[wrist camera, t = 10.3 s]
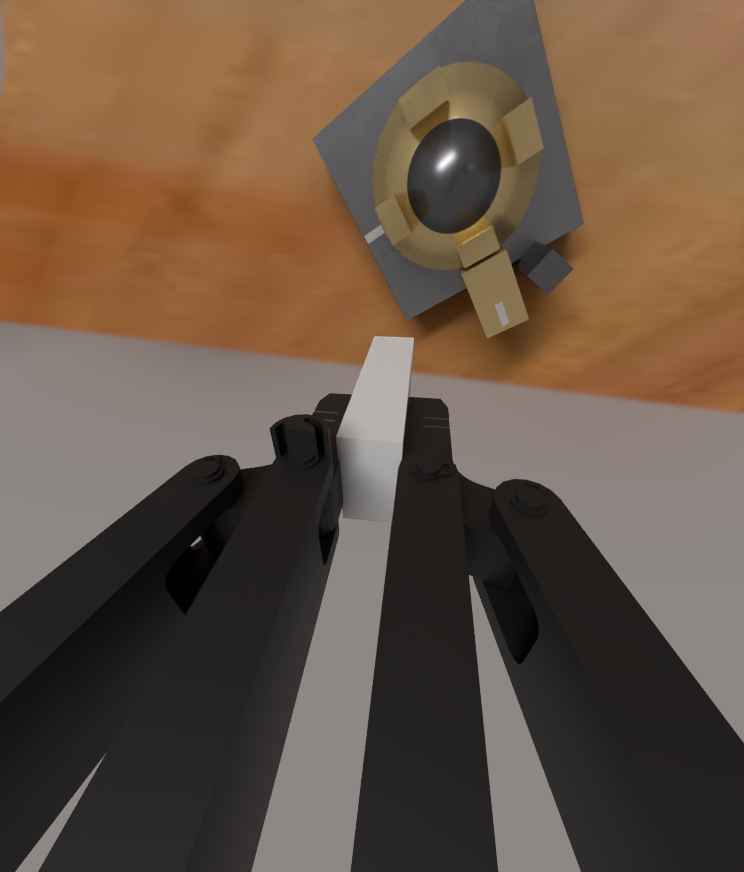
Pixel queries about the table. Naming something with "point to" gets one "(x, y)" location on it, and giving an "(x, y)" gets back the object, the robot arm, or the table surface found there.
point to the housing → (366, 117)
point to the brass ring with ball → (461, 180)
